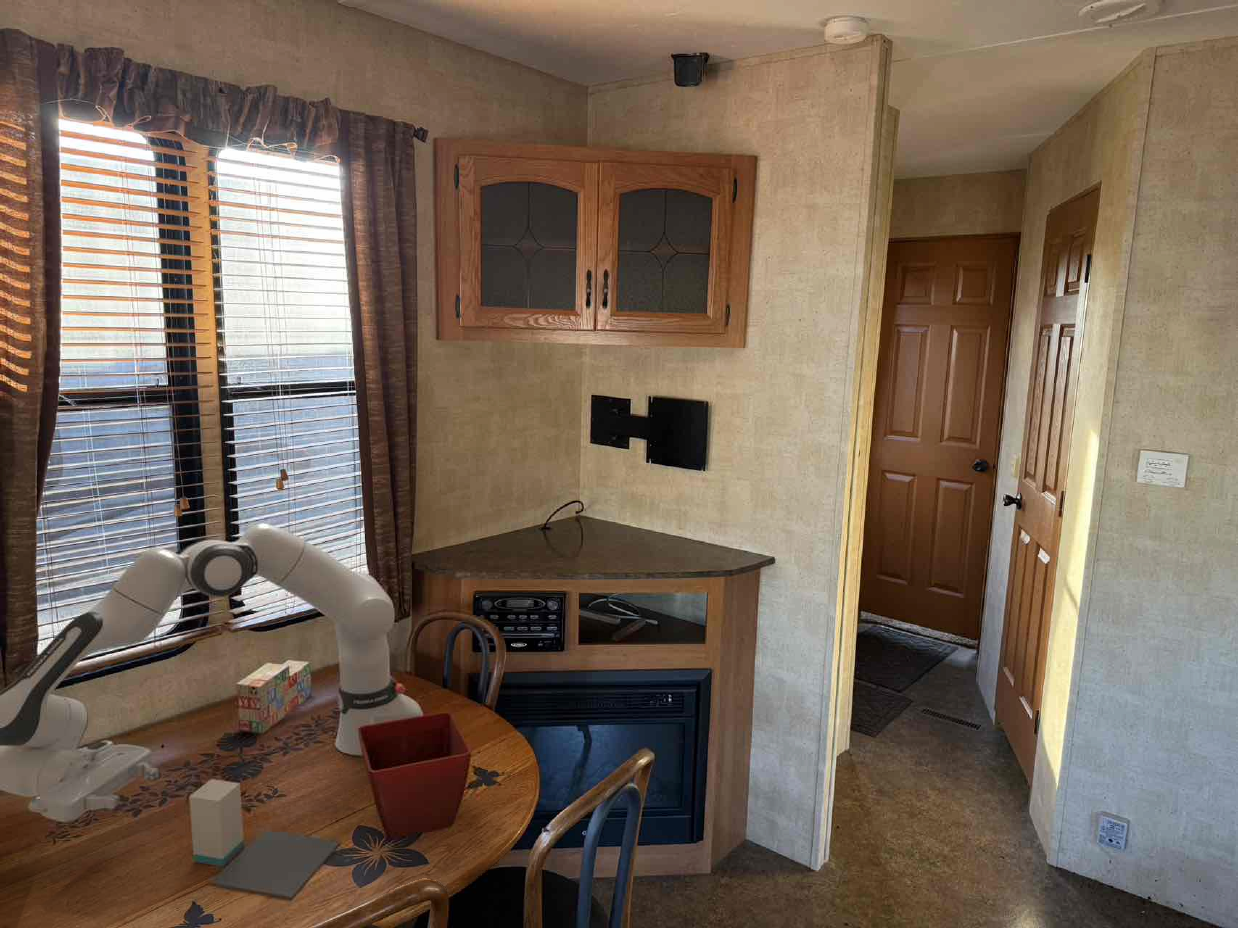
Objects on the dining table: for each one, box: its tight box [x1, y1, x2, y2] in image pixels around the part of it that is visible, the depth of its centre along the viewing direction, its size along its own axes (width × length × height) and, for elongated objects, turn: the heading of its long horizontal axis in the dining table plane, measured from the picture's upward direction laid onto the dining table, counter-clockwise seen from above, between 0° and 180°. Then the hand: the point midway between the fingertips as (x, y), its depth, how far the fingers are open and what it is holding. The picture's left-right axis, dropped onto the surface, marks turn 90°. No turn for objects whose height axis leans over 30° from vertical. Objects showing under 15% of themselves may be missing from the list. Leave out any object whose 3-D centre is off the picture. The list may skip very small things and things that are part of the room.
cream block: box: [189, 778, 245, 867], centre depth 160 cm, size 6×6×13 cm
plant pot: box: [358, 711, 472, 840], centre depth 172 cm, size 19×19×17 cm
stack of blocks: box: [236, 659, 312, 734], centre depth 215 cm, size 21×6×12 cm, turn 168°
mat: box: [209, 829, 341, 901], centre depth 158 cm, size 16×16×1 cm
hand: (136, 788), depth 156 cm, fingers open, 8 cm apart
